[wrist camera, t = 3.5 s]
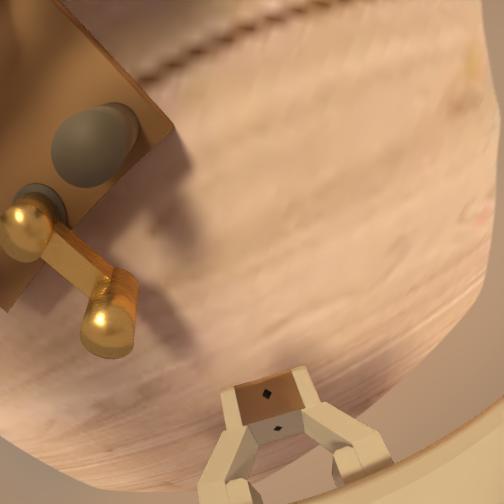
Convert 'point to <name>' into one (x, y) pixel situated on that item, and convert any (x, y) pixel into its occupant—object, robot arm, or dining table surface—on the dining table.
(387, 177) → the dining table surface
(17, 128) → the stool seat
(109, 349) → the gold bone
